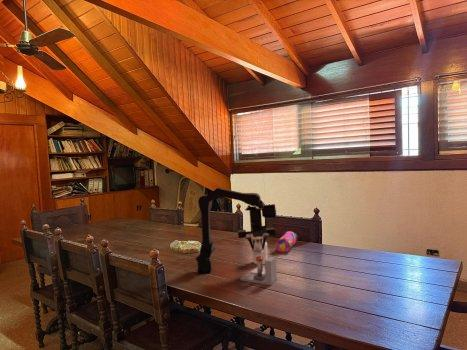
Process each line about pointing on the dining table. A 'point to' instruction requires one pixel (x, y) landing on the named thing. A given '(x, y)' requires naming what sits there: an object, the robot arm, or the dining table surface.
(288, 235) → the pencil case
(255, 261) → the beige cylinder
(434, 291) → the dining table surface
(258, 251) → the knob
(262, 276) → the ball-topped lever
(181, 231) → the dining table surface
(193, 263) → the dining table surface
